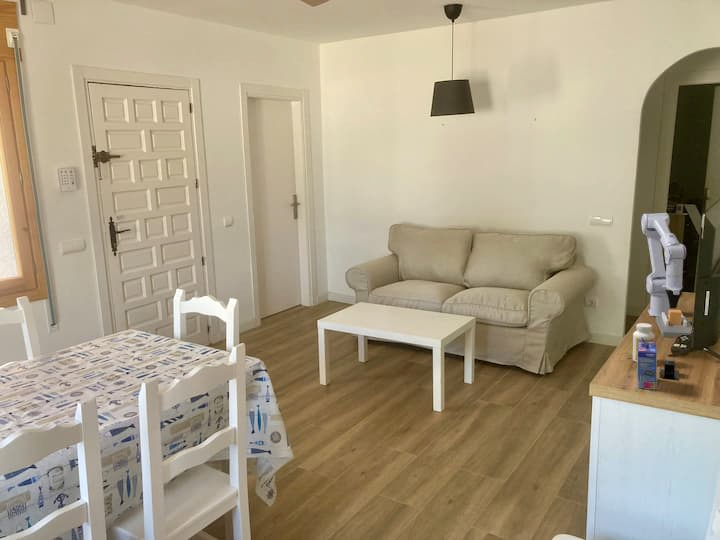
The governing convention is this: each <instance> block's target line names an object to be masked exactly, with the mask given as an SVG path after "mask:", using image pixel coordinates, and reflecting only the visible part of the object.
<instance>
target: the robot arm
mask: <svg viewBox="0 0 720 540" xmlns="http://www.w3.org/2000/svg"><path fill="white" fill-rule="evenodd" d="M640 224H641V225H640V226H641V230H642V234H643V235H645V236H646V238H647V244H648V250H649V257H650V264H651V273H650V274H648V275H647V277H646V279H645V280H646V284H645V285H646V291H647V293H648V294H650V304H649V305H650V306H649V307H650V308H649V309H647V312H648V315H649V316H650V317H656V316H662V312H664V313H665V315H666V316H668V313H669V310H670V309H677V307H678V303H679V301H680V298H681V296H682V294H683V292H682V289H683V287H684V286H683V267H684V260H685V259H686V256H687V249H686V246H685V245H684V244H682V243H680V241H679V240H678V238H677V236H676V234H674V233H673V232H671V230H670V228H669V225H670V215H669V214H668V213H667V212H660V213H658V212H657V213H643V214H642V216H641V222H640ZM662 248H663V249H664V256H663V249H662ZM664 261H665V262H664ZM665 264H666V268H665Z"/></svg>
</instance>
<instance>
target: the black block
mask: <svg viewBox="0 0 720 540" xmlns="http://www.w3.org/2000/svg"><path fill="white" fill-rule="evenodd" d="M660 370H661V371H660ZM660 378H662V379H661V380H668V381H669V380H670V381H675V382H676V381H678V382H679V381H680V370H679V369H676V361H674V360H666V359H665V360H664V368H659V379H660Z"/></svg>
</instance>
